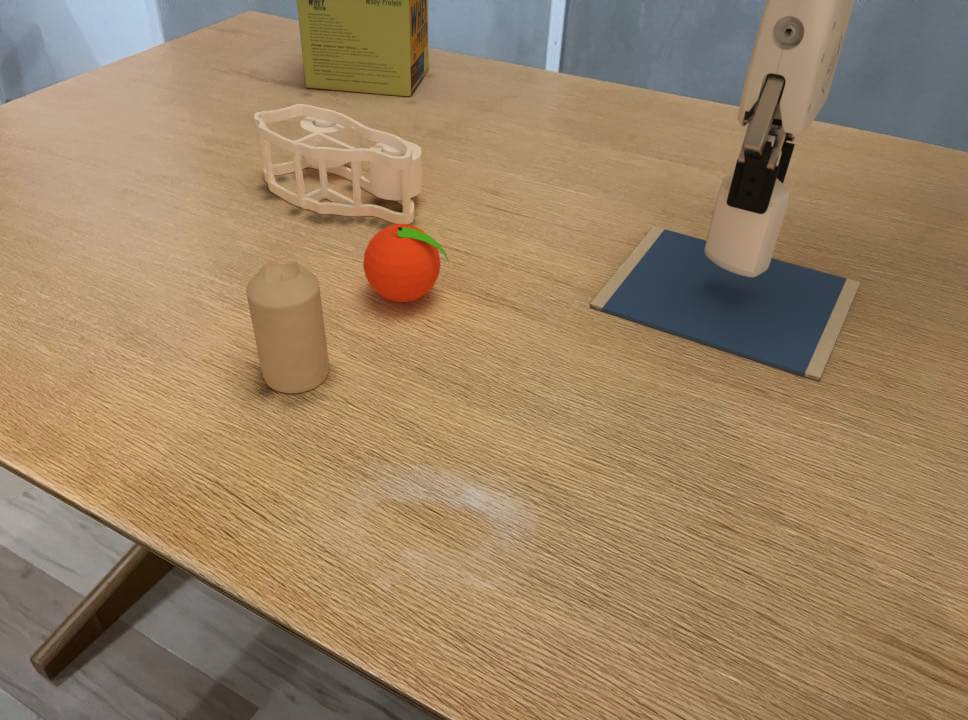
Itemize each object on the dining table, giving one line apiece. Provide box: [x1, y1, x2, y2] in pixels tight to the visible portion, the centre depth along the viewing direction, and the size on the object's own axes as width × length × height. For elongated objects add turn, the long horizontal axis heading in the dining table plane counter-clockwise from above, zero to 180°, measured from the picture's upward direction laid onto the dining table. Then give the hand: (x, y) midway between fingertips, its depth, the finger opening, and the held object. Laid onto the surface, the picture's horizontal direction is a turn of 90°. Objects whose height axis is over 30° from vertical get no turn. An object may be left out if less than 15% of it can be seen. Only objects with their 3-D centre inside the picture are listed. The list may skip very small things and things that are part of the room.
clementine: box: [363, 224, 450, 303], centre depth 74 cm, size 8×7×7 cm
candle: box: [245, 260, 330, 394], centre depth 65 cm, size 6×6×10 cm
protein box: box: [296, 0, 430, 97], centre depth 111 cm, size 10×15×16 cm
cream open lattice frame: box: [253, 103, 423, 225], centre depth 88 cm, size 20×11×7 cm, turn 46°
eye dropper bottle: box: [704, 135, 790, 277], centre depth 69 cm, size 4×6×12 cm
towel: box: [589, 225, 861, 382], centre depth 75 cm, size 20×16×1 cm
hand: (754, 194), depth 68 cm, fingers closed on eye dropper bottle, 3 cm apart
